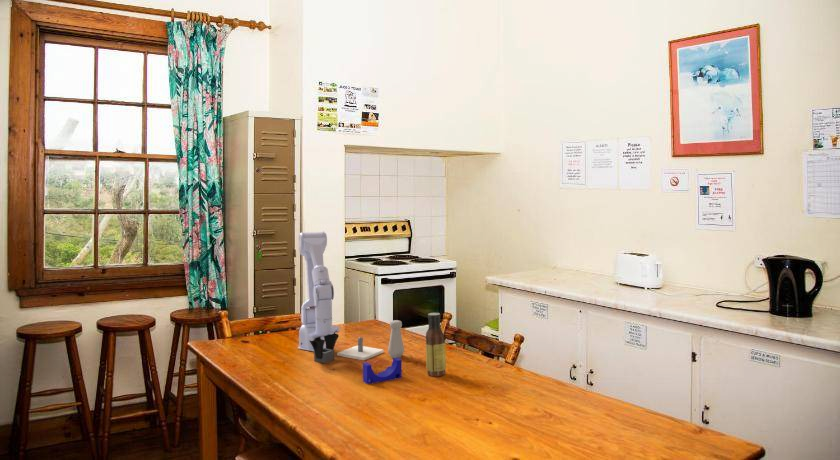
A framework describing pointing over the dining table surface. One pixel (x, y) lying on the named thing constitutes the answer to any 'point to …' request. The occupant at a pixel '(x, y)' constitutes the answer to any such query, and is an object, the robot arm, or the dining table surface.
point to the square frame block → (325, 356)
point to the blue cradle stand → (387, 374)
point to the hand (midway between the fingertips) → (324, 356)
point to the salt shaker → (396, 340)
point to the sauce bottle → (435, 347)
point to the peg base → (360, 351)
